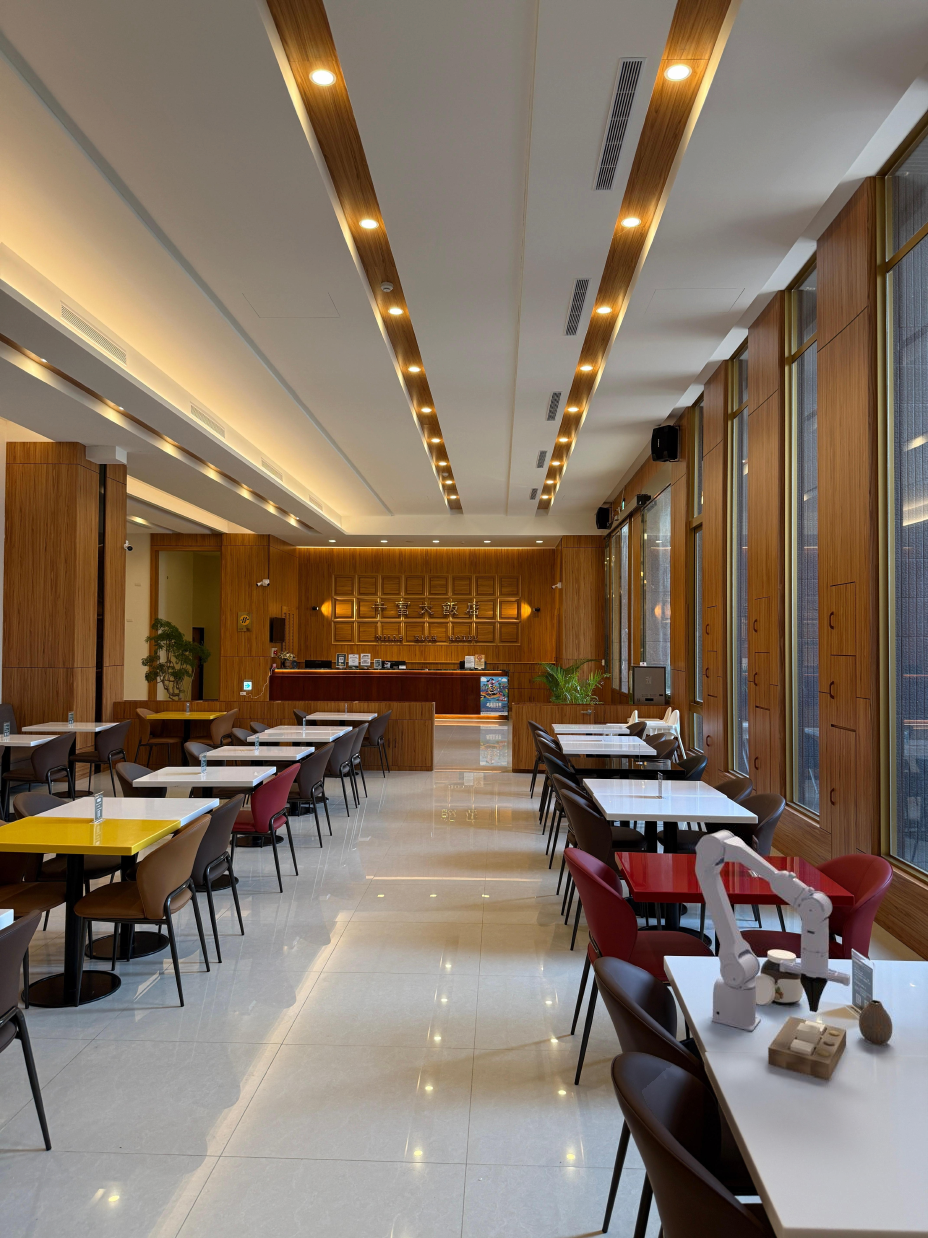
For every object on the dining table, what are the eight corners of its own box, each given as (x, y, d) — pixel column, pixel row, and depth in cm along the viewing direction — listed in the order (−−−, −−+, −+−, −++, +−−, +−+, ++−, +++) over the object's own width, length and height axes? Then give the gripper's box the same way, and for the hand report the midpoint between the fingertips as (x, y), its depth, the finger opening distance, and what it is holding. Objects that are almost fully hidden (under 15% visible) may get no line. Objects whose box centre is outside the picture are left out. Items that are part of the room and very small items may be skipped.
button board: (768, 1064, 178) (768, 1046, 178) (790, 1031, 195) (790, 1015, 195) (828, 1081, 172) (829, 1063, 172) (846, 1046, 188) (846, 1029, 188)
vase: (896, 1049, 187) (896, 1009, 188) (863, 1046, 189) (863, 1006, 189) (887, 1036, 194) (887, 997, 194) (855, 1033, 195) (855, 994, 196)
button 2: (802, 1045, 188) (802, 1026, 188) (806, 1038, 191) (806, 1020, 191) (821, 1050, 185) (821, 1031, 186) (825, 1043, 189) (825, 1025, 189)
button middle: (796, 1047, 183) (796, 1029, 183) (800, 1041, 186) (800, 1022, 186) (816, 1053, 180) (816, 1034, 181) (819, 1046, 184) (820, 1027, 184)
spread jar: (805, 1001, 214) (805, 954, 214) (796, 1016, 204) (796, 967, 205) (756, 990, 220) (757, 944, 221) (745, 1004, 210) (746, 956, 211)
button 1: (790, 1065, 178) (790, 1046, 178) (794, 1058, 181) (794, 1039, 181) (810, 1071, 175) (810, 1051, 176) (814, 1063, 179) (814, 1044, 179)
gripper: (776, 946, 190) (775, 1008, 189) (846, 961, 182) (845, 1025, 181) (784, 938, 196) (783, 998, 195) (852, 952, 188) (851, 1014, 187)
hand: (813, 1010), depth 189 cm, fingers closed
